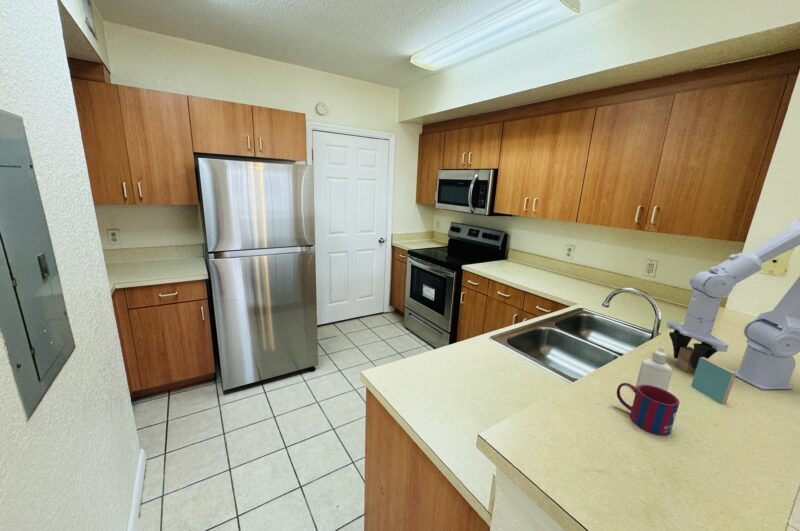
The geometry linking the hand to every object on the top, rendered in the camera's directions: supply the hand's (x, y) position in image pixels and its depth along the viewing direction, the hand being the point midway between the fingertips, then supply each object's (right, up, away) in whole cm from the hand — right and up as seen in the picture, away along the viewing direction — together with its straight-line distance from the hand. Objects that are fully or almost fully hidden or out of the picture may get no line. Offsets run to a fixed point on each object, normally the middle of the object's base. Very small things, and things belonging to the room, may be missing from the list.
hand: (686, 362), depth 89 cm
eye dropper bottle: (-20, -4, -12) cm, 23 cm away
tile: (-5, -4, -11) cm, 13 cm away
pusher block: (0, -2, 0) cm, 2 cm away
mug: (-29, -5, -21) cm, 36 cm away
